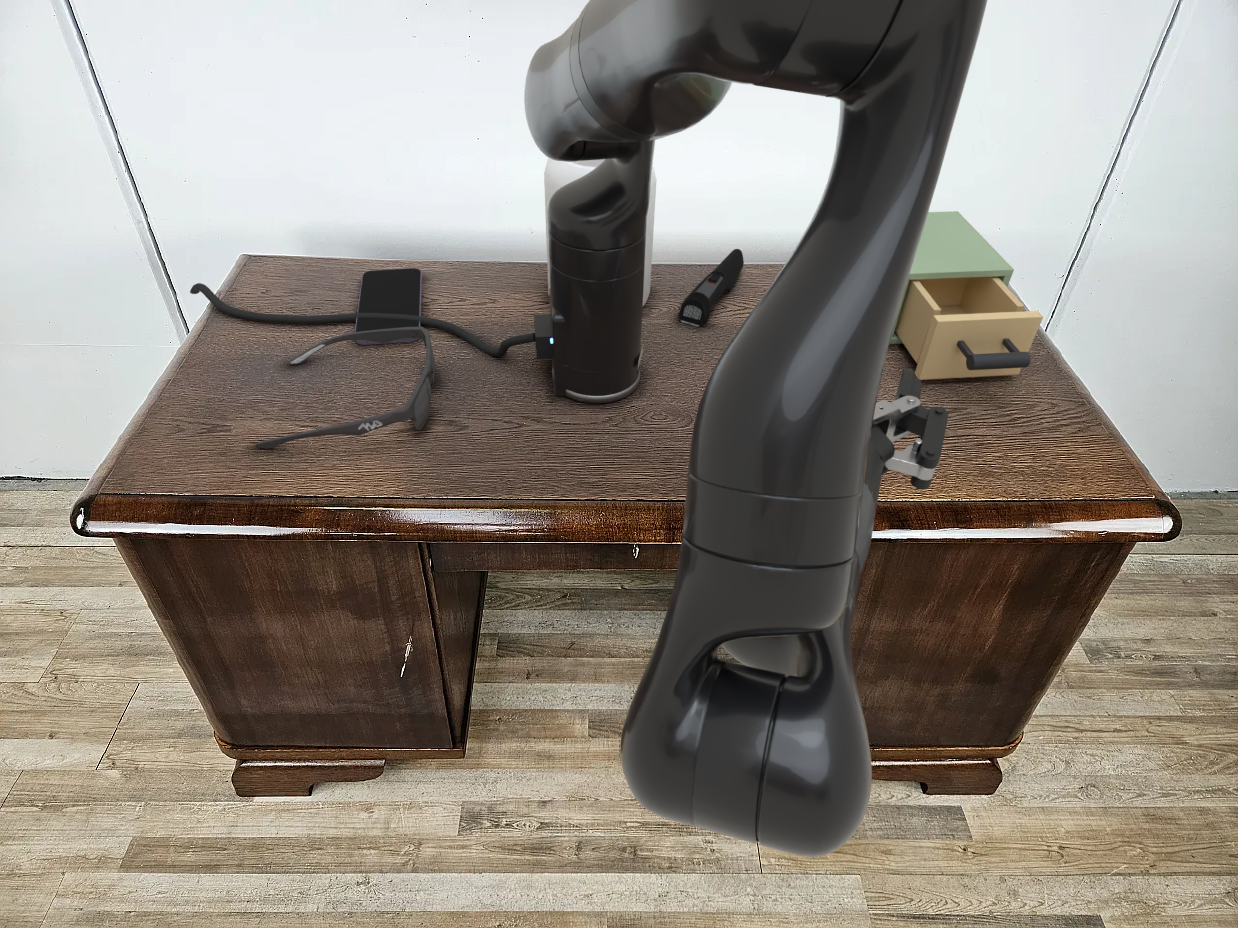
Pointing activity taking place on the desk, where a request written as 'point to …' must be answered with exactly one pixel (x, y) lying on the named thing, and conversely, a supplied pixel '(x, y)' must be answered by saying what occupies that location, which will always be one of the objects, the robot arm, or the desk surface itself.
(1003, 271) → the cabinet
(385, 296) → the smartphone
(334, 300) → the desk surface
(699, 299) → the electric trimmer
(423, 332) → the sunglasses
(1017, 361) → the drawer
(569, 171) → the can
